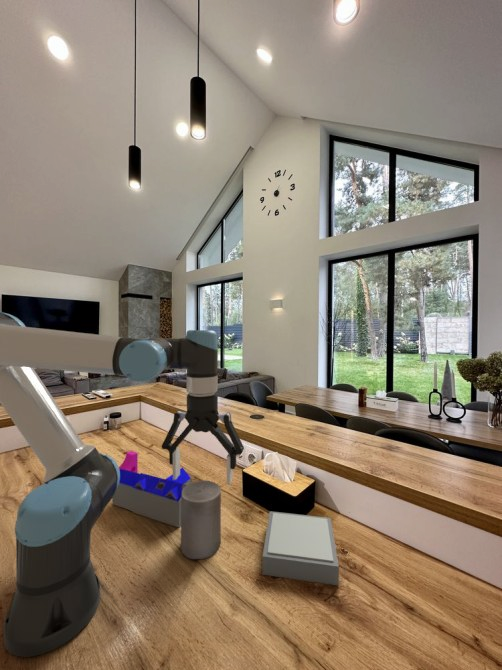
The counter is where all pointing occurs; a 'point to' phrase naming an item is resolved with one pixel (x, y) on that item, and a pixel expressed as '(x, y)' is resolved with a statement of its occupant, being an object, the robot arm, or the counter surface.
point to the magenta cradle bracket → (130, 462)
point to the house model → (152, 495)
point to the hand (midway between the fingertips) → (202, 479)
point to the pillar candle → (200, 519)
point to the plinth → (300, 548)
